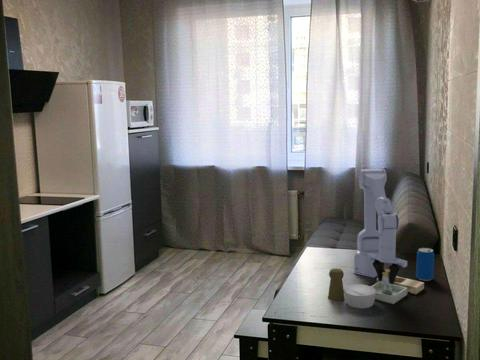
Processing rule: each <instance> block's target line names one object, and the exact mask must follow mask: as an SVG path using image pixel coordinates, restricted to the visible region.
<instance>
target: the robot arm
mask: <svg viewBox="0 0 480 360" xmlns="http://www.w3.org/2000/svg"><path fill="white" fill-rule="evenodd" d="M387 179H388V176H387V171H386V170H385V168H380V169H379V168H378V169H377V168H376V169H375V168H374V169H370V168H369V169H360V170H359V172H358V186H359V187H358V188H359V189H361V190H363V191H362V192H363V215H364V217H363V218H364V219H363V220H364V221H363V224H364V227H363V229H362V230H361V231H360V232H359V233H357V236H356V237H357V240H356V249H357V251H356V253H355V254H354V259H353V260H354V261H353V262H354V263H353V264H354V265H353V267H354V268H353V272H352V273H353V274H357V275H359V276H360V275H361V276H363V277H364V276H365V277H369V278H376V277H377V278H378V280H379V281H382V270H383V269H384V268H385V264H390V265H389V266H388V269H390V284H393V283H395V278H396V276H398V273H399V272H400V269H401V267H402V268H406V267H408V260H405V259H401V258H398V257H396V249H397V248H396V247H397V246H396V245H397V244H396V242H397V239H396V238H397V230H398V229H399V226H400V220H399V215H398V213H396V211H394V209H393V207H392V202H391V200H390V198H388V197H386V196H387V195H386V192H385V186H386V182H387Z"/></svg>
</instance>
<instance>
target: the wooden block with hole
mask: <svg viewBox="0 0 480 360" xmlns="http://www.w3.org/2000/svg"><path fill="white" fill-rule="evenodd" d="M377 282H379V280H378V277H377V278H376V283H377ZM393 285H397V286H402V287H406V288H407V293H409V292H410V294H413V295H417V294H419V293H420V292H421V291H423V290H424V289H425V281H424V282H423V281H421V280H415V279H412V278H411V279H410V278H406V277H401V276H398V275H396V278H395V283H393Z"/></svg>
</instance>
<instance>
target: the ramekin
mask: <svg viewBox="0 0 480 360" xmlns="http://www.w3.org/2000/svg"><path fill="white" fill-rule="evenodd" d="M371 286H372V285H370V286H369V285H367V284H363V283H362V284H358V283H357V284H356V283H355V284H349V285H346V286H345V287H343V290H344V297H345V299H344V300H345V303H346V304H347V305H348V306H349V307H351V308H354V309H369V308H371V307H372V306H373V305H374V304H375V300H376V299H375V295H376V290H375V288H373V287H371Z"/></svg>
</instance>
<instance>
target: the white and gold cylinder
mask: <svg viewBox="0 0 480 360" xmlns="http://www.w3.org/2000/svg"><path fill="white" fill-rule="evenodd" d="M381 293H382V294H386V295H392V294H393V284H390V269H389V268H385V269H383V270H382V281H381Z"/></svg>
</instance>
